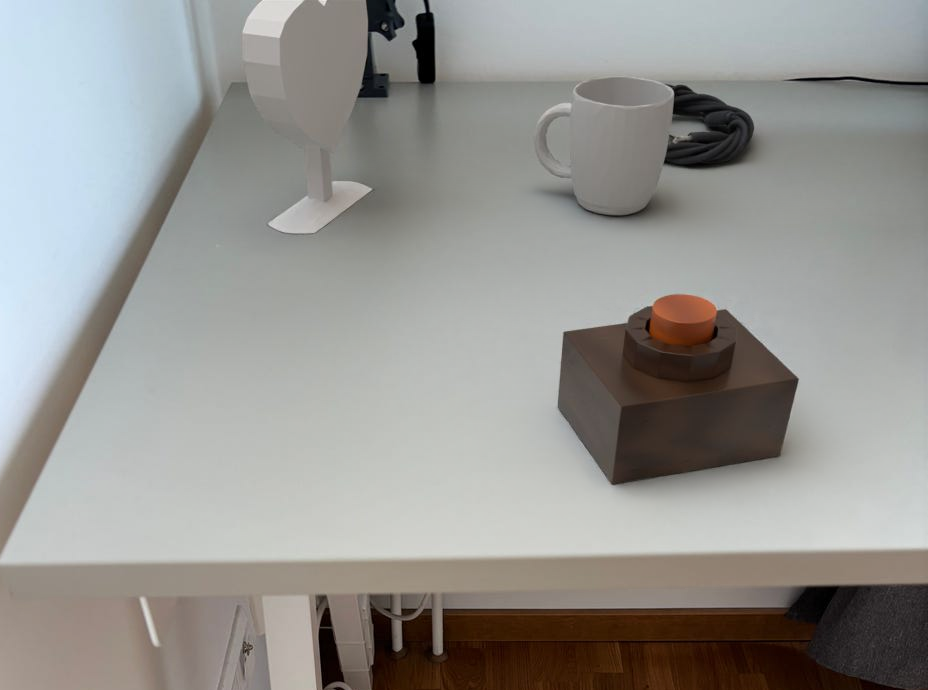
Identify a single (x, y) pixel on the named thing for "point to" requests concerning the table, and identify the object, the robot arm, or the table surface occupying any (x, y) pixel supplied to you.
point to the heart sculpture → (308, 91)
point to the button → (683, 320)
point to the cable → (708, 143)
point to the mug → (612, 141)
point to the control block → (673, 398)
